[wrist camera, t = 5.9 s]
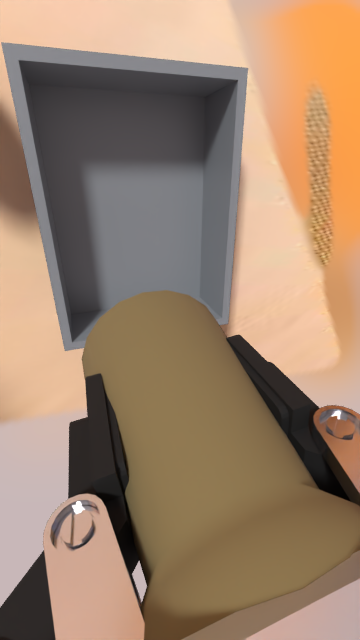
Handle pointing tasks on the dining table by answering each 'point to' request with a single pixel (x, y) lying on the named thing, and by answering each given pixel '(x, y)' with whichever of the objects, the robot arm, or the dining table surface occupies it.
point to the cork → (208, 470)
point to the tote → (130, 176)
